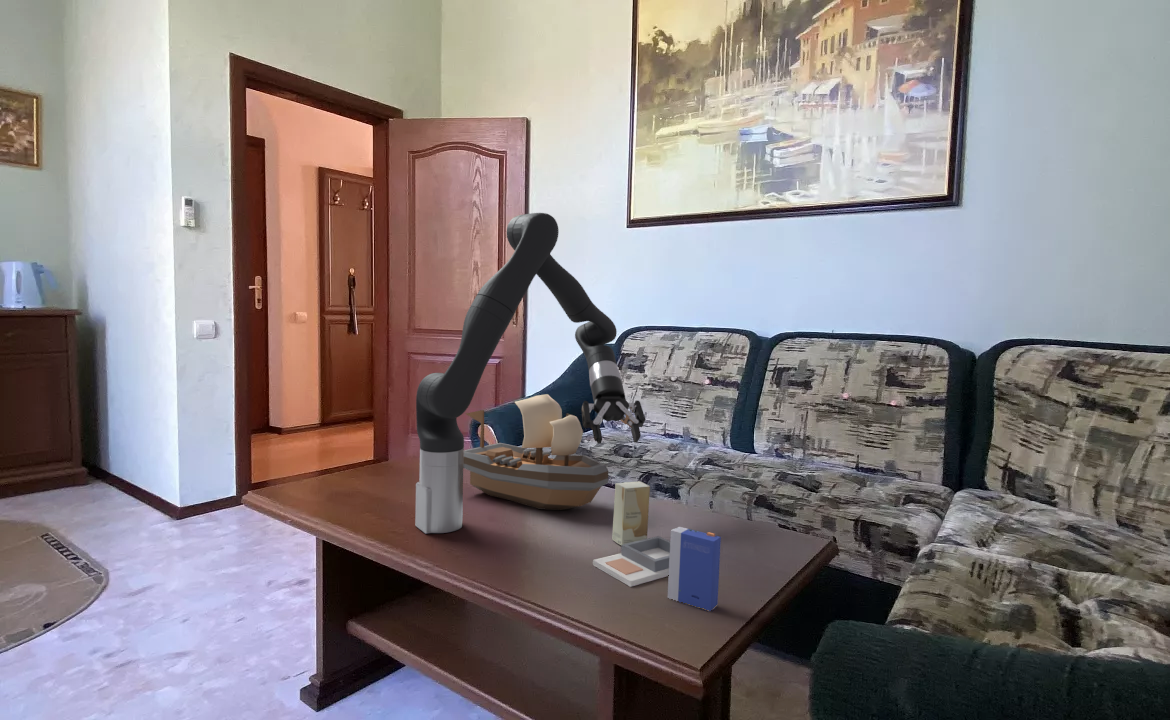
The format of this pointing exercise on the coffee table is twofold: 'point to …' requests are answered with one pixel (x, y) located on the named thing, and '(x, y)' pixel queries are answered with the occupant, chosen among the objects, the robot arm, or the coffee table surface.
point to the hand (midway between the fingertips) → (618, 441)
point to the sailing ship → (537, 461)
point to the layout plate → (638, 561)
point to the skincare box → (630, 512)
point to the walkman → (694, 567)
